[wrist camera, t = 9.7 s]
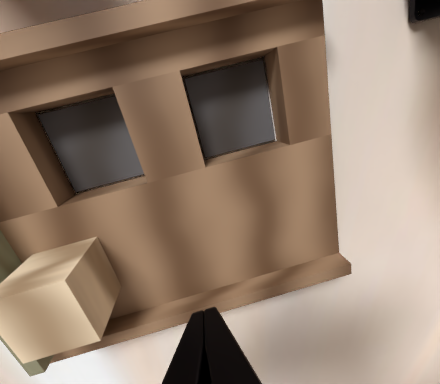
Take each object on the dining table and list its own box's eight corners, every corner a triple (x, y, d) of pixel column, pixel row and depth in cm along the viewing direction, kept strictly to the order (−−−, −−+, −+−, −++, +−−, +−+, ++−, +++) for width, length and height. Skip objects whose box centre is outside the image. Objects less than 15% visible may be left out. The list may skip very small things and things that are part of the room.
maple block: (97, 236, 16) (64, 280, 12) (121, 286, 18) (100, 340, 13) (32, 254, 16) (-24, 305, 12) (62, 303, 17) (22, 363, 13)
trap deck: (300, -5, 15) (357, -66, 10) (323, 246, 22) (365, 286, 17) (-72, 82, 14) (-222, 64, 9) (74, 318, 21) (37, 385, 16)
